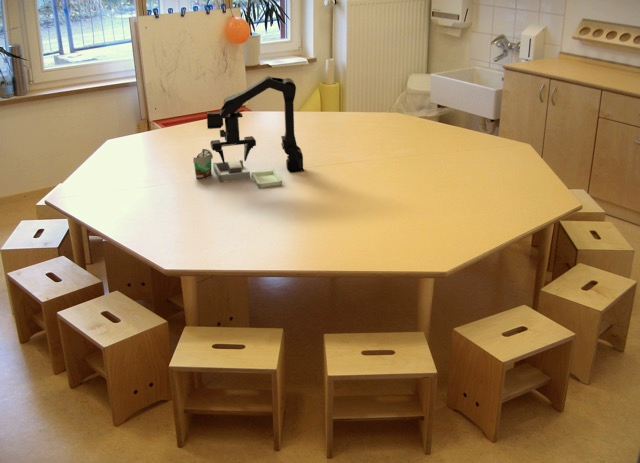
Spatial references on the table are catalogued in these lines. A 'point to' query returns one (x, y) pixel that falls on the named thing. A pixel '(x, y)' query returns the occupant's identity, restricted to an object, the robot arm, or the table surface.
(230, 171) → the beige gray rectangular block
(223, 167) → the bay
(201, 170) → the food container
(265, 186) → the tray
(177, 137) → the table surface
